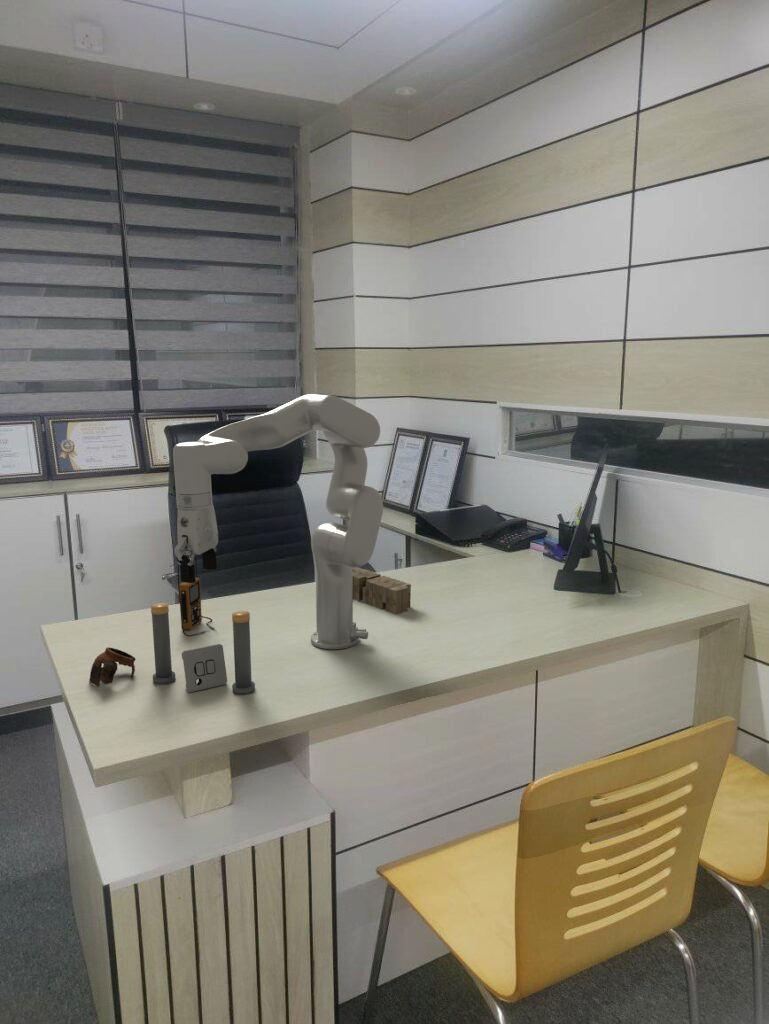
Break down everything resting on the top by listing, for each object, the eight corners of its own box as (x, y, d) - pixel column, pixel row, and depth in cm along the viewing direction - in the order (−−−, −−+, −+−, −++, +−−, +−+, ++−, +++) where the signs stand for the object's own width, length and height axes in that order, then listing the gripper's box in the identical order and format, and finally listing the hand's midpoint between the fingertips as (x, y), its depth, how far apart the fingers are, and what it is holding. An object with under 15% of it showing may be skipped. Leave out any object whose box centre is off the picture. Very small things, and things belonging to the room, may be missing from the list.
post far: (179, 676, 173) (175, 603, 169) (168, 685, 168) (163, 610, 165) (160, 674, 174) (155, 601, 171) (148, 683, 170) (143, 608, 166)
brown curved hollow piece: (88, 675, 175) (104, 642, 176) (127, 690, 177) (142, 657, 178) (80, 684, 163) (97, 649, 164) (122, 699, 165) (138, 665, 166)
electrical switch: (187, 694, 164) (184, 653, 163) (181, 687, 169) (177, 648, 168) (228, 685, 169) (225, 645, 168) (220, 678, 173) (218, 640, 172)
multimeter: (209, 638, 196) (206, 565, 192) (174, 635, 198) (170, 563, 194) (231, 619, 210) (228, 551, 206) (198, 616, 212) (195, 549, 208)
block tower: (413, 612, 220) (350, 586, 241) (415, 585, 218) (350, 561, 239) (394, 618, 215) (331, 591, 235) (395, 590, 213) (331, 566, 234)
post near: (258, 686, 168) (256, 611, 164) (249, 696, 163) (246, 618, 160) (238, 683, 169) (235, 609, 166) (228, 693, 165) (225, 616, 161)
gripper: (189, 509, 151) (195, 589, 155) (228, 492, 167) (232, 565, 171) (157, 507, 153) (163, 586, 156) (198, 491, 169) (203, 563, 173)
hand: (199, 575), depth 164 cm, fingers open, 9 cm apart
